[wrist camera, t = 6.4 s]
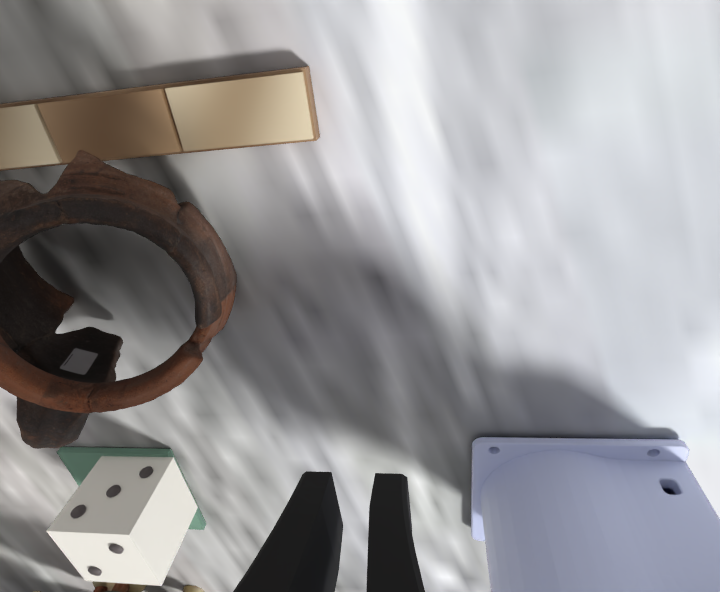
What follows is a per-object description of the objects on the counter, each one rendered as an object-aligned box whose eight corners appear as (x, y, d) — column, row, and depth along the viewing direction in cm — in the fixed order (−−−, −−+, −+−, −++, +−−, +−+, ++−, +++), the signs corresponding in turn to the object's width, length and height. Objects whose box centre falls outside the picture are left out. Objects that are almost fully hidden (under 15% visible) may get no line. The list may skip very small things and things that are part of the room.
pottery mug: (-11, 103, 17) (-110, 121, 10) (239, 171, 22) (283, 213, 15) (-29, 376, 21) (-112, 524, 14) (189, 385, 25) (207, 500, 18)
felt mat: (170, 448, 26) (167, 454, 25) (206, 523, 29) (203, 529, 29) (61, 446, 27) (56, 452, 26) (108, 519, 30) (104, 524, 30)
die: (173, 456, 25) (127, 535, 21) (197, 507, 28) (160, 587, 24) (99, 455, 26) (41, 531, 22) (129, 505, 28) (82, 582, 24)
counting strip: (309, 66, 15) (303, 68, 14) (319, 136, 16) (315, 142, 15) (-164, 124, 18) (-188, 128, 17) (-127, 179, 19) (-148, 185, 18)
